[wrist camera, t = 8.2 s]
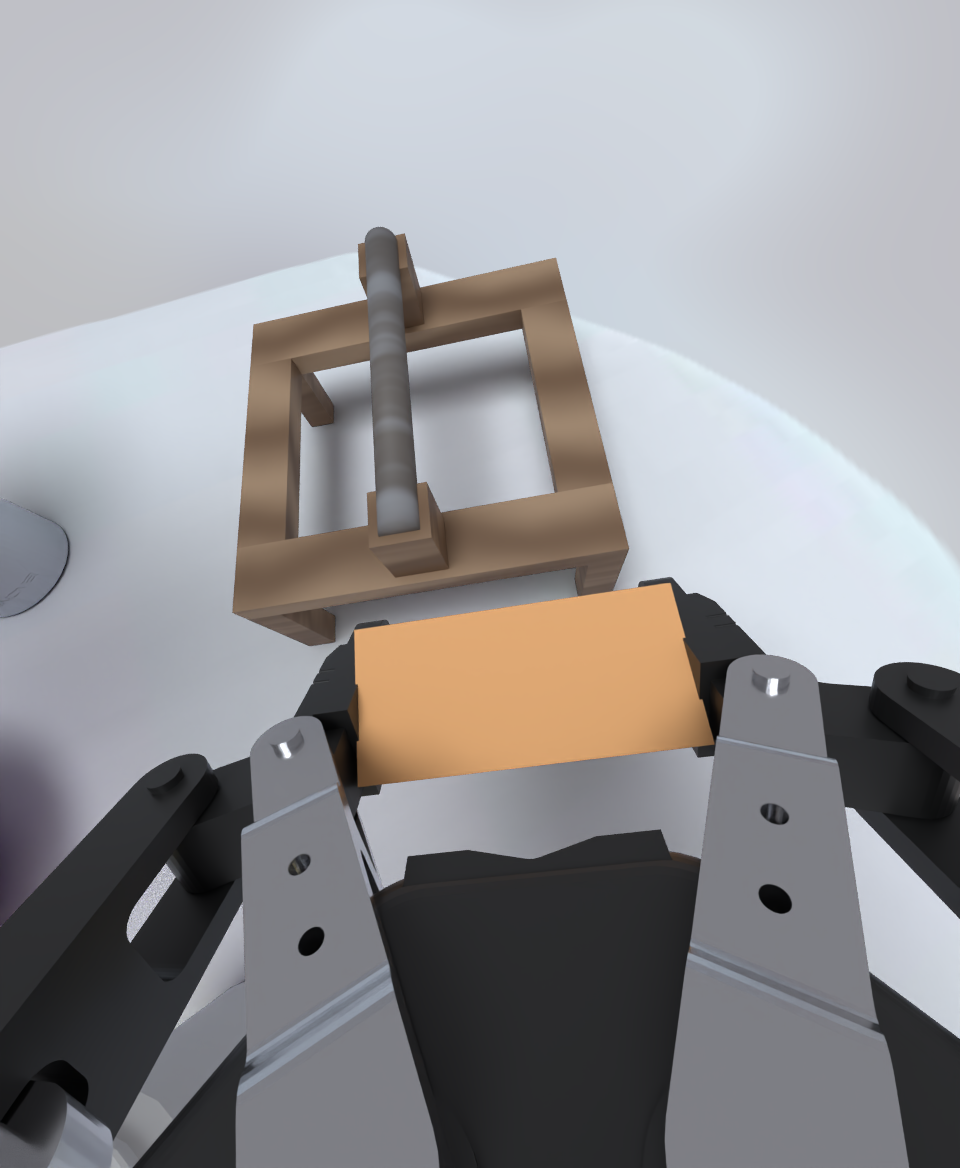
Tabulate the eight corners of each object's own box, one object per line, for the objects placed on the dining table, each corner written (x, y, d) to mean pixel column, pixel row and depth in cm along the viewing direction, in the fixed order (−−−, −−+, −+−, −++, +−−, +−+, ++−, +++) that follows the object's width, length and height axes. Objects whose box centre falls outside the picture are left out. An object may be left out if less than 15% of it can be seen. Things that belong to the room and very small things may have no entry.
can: (317, 959, 28) (161, 1100, 17) (330, 1125, 25) (154, 1426, 14) (200, 985, 28) (-30, 1139, 17) (201, 1151, 26) (-71, 1464, 14)
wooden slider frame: (608, 600, 33) (648, 500, 20) (309, 646, 35) (163, 582, 22) (554, 360, 40) (557, 173, 27) (312, 409, 42) (206, 256, 29)
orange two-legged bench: (620, 747, 18) (714, 744, 8) (460, 766, 19) (357, 786, 9) (603, 670, 19) (669, 582, 9) (453, 691, 20) (354, 629, 10)
